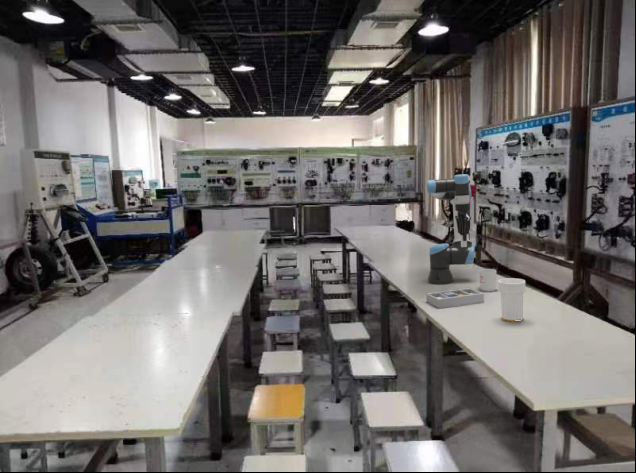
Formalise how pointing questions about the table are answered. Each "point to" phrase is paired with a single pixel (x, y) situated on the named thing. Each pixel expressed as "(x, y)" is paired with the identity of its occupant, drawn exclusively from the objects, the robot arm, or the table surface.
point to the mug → (487, 279)
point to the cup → (511, 298)
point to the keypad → (455, 298)
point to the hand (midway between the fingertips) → (463, 246)
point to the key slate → (449, 294)
